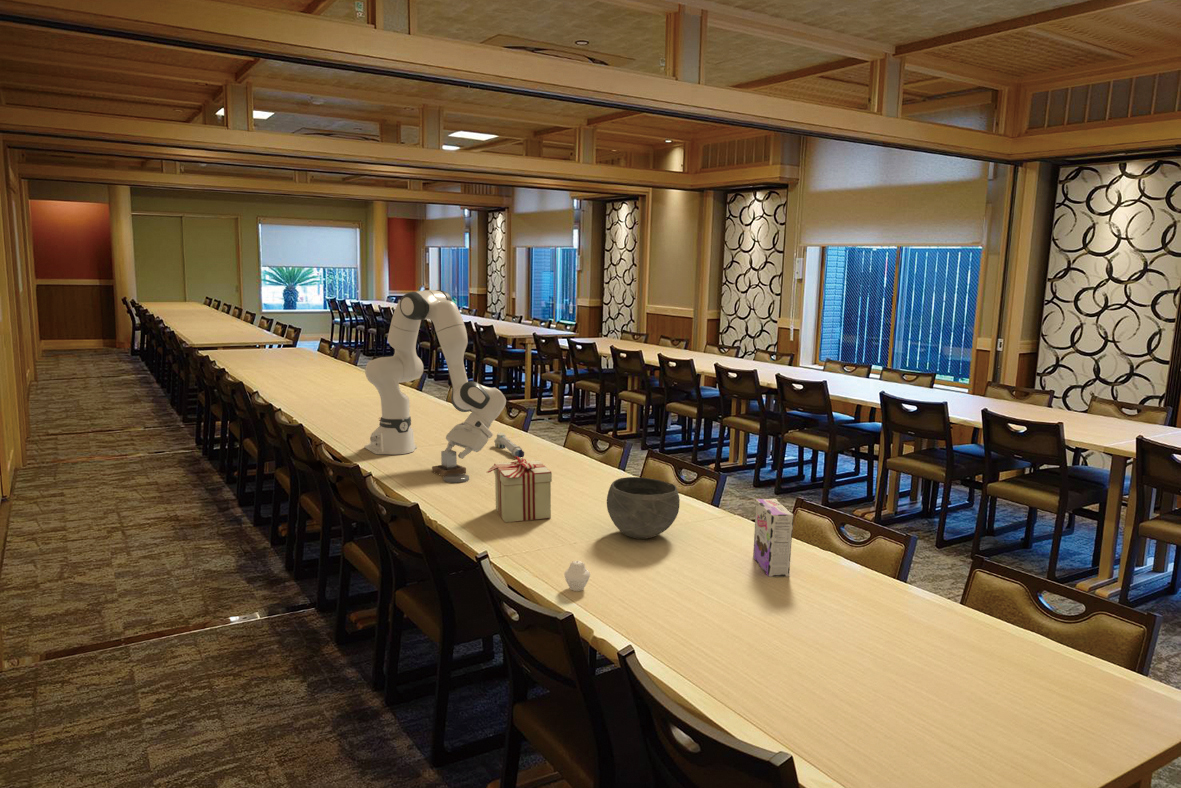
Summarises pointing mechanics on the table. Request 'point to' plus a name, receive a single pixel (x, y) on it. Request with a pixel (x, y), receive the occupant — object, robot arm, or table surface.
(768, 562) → the candy box
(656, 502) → the bowl
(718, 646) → the table surface
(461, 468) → the socket
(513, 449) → the grey flashlight
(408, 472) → the table surface
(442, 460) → the steel block
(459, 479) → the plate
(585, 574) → the beige stone rounded piece
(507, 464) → the gift box
